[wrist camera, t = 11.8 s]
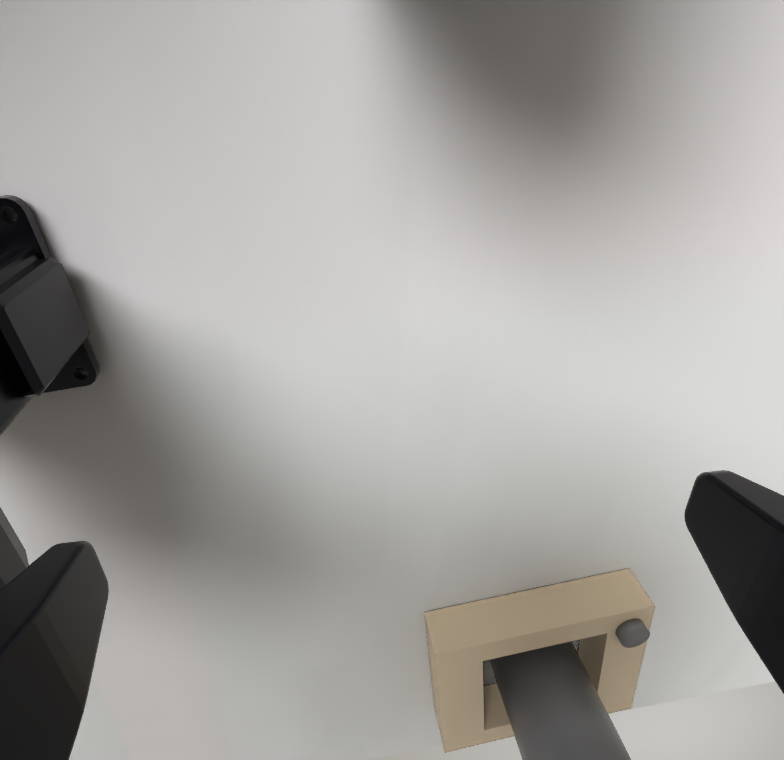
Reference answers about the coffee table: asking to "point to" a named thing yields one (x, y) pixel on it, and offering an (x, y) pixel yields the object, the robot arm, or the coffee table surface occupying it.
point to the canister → (555, 706)
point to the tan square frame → (534, 647)
